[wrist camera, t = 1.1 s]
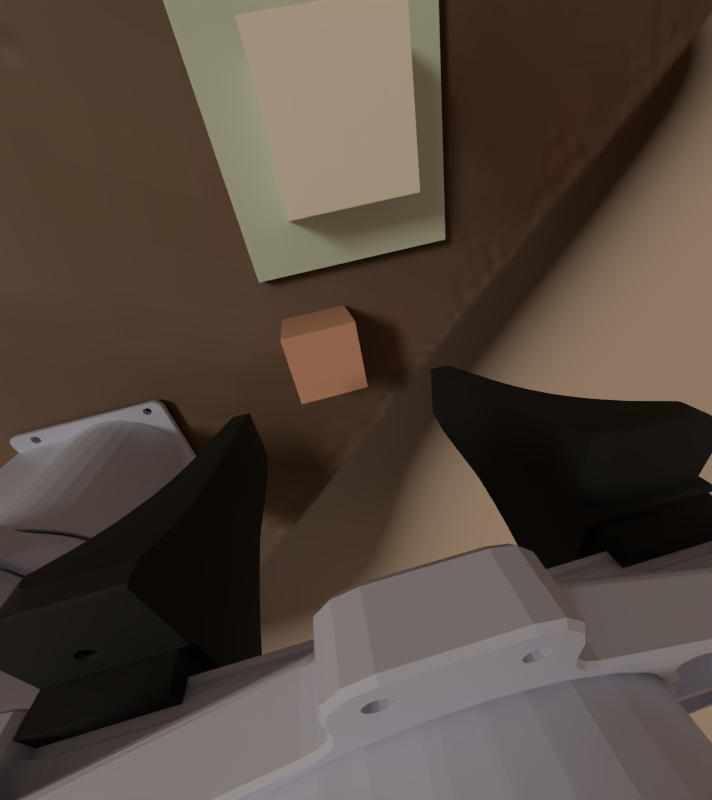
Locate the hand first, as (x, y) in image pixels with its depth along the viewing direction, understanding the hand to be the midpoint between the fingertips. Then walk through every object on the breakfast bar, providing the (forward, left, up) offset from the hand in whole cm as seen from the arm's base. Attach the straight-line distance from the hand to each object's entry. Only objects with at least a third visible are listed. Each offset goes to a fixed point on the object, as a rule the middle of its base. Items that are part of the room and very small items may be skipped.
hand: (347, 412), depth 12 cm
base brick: (+3, +10, -9) cm, 13 cm away
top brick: (0, 0, -10) cm, 10 cm away
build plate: (+3, +10, -9) cm, 14 cm away
